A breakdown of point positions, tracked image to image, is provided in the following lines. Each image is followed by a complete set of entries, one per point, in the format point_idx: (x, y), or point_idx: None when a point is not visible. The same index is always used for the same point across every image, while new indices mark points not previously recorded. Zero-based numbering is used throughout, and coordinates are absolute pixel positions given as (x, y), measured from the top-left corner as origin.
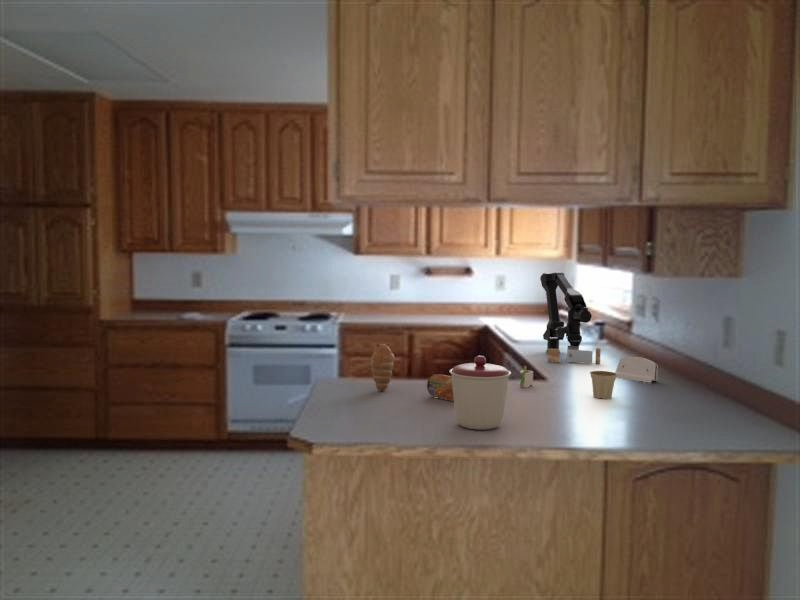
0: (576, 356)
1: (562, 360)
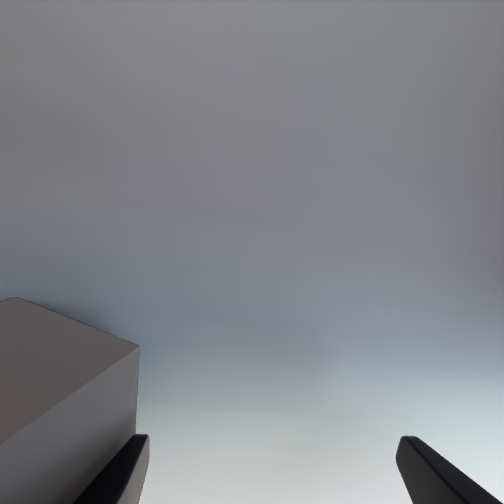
0: None
1: (84, 244)
